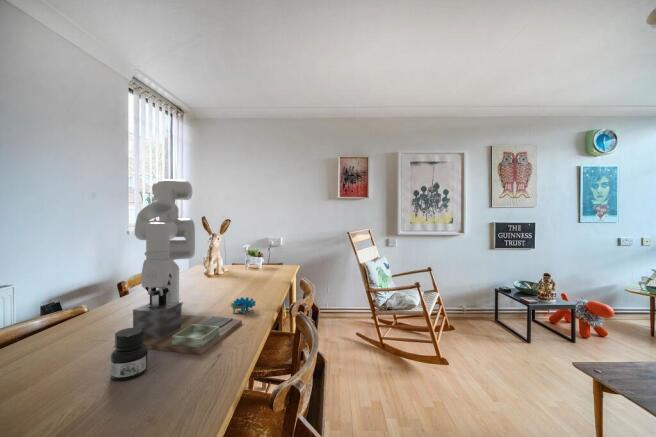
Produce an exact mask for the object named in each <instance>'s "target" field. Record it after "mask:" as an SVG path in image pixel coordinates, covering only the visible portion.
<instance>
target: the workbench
mask: <svg viewBox="0 0 656 437" xmlns="http://www.w3.org/2000/svg"><path fill="white" fill-rule="evenodd" d="M242 324H243V319H235V318H231V317H222V316H200V315H190V314H182V304H181V303H176V302H166V304H165V307H162V308H160V309H154V308H152V306H150V302H149V303H148V304H144V305H142V306H140V307H139V306H138V308H134V309H132V327H140V328H143V344H145V345H146V346H147V348H148V350H156V351H163V352H164V351H165V352H172V353H180V354H189V355H199V356H203V355H204V354H205V353H206V352H208V351H209V349H211V348H213V347H214V346H215V345H216V344H218V343H219V342H221V340H223V339H224V338H225V337H227V336H228V335H229V334H230V333H232V332H233V331H235V329H237V328H238V327H239V326H241V325H242Z"/></svg>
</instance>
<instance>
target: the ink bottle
mask: <svg viewBox="0 0 656 437" xmlns="http://www.w3.org/2000/svg"><path fill="white" fill-rule="evenodd" d="M114 347H115V349H114V350H112V352H111V354H110V378H111V379H112V380H113V381H118V380H120V381H126V380H127V381H128V380H132V379H135V378H138V377H140V376H142V375H144V373H145V372H147V370H148V363H149V362H148V361H149V360H148V356H149V354H148V350H149V349H148V348H147V346H146V345H145V344H143V328H140V327H133V326H132V327H127V328H123V329H120V330H118V331H116V332H115V333H114Z"/></svg>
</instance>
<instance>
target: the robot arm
mask: <svg viewBox="0 0 656 437" xmlns="http://www.w3.org/2000/svg"><path fill="white" fill-rule="evenodd" d="M151 192H152V194H153V197H152V198H153V199H152V202H150V203H148V204H147V205H145V206H144V207H143V208H142V209H141V210H140V211H139V212H138V214H137V216H136V219H135V220H136V221H135V223H134V224H135V225H134V236H135V237H136V239H138V240H140V241H145V247H146V248H145V252H144V256H145V259H144V260H143V264H142V267H141V268H142V269H141V280H140V281H141V287H142V288H144V289H145V290H146V292H147V294H148V295H149V303H150V306H152V296H150V292H153V291H156V290H158V289H160V296H159V306H160V307H161V306H163V305H165V304H166V302H176V303H181V305H182V304H183V299H182V298H180V267H179V265H178V264H177V263H176V262H175V260H190V259H193V257H194V256H195V254H196V226H195V222H194V220H193V219H191V218H186V217H185V218H184V217H183V218H180V216H179V215H180V214H179V212H180V211H179V209H180V208H179V207H178V206H177V204H176V200H177V201H178V200H179V201H180V200H181V201H189V200H191V198H192V196H193V187H192V184H191V183H190V182H189V181H188V180H185V179H161V180H158V181H156V182H154V183H153V184H152V187H151ZM155 218H158V220H153V219H155ZM174 238H184V239H178V240H177V239H174ZM163 288H164V290H163Z"/></svg>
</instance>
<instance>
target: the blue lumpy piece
mask: <svg viewBox="0 0 656 437" xmlns="http://www.w3.org/2000/svg"><path fill="white" fill-rule="evenodd" d="M255 306H256V301H255V300H254V299H253V298H249V297H245V298H244V297H240V299H239V298H236V299H235V300H234V301H233V302H231V304H230V307H232V309H233V311H232V314H235V313H236V310H239V309H240V310H242V314H243V315H244V314H246V313H245V312H246V310H248V309H253V307H255Z"/></svg>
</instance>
